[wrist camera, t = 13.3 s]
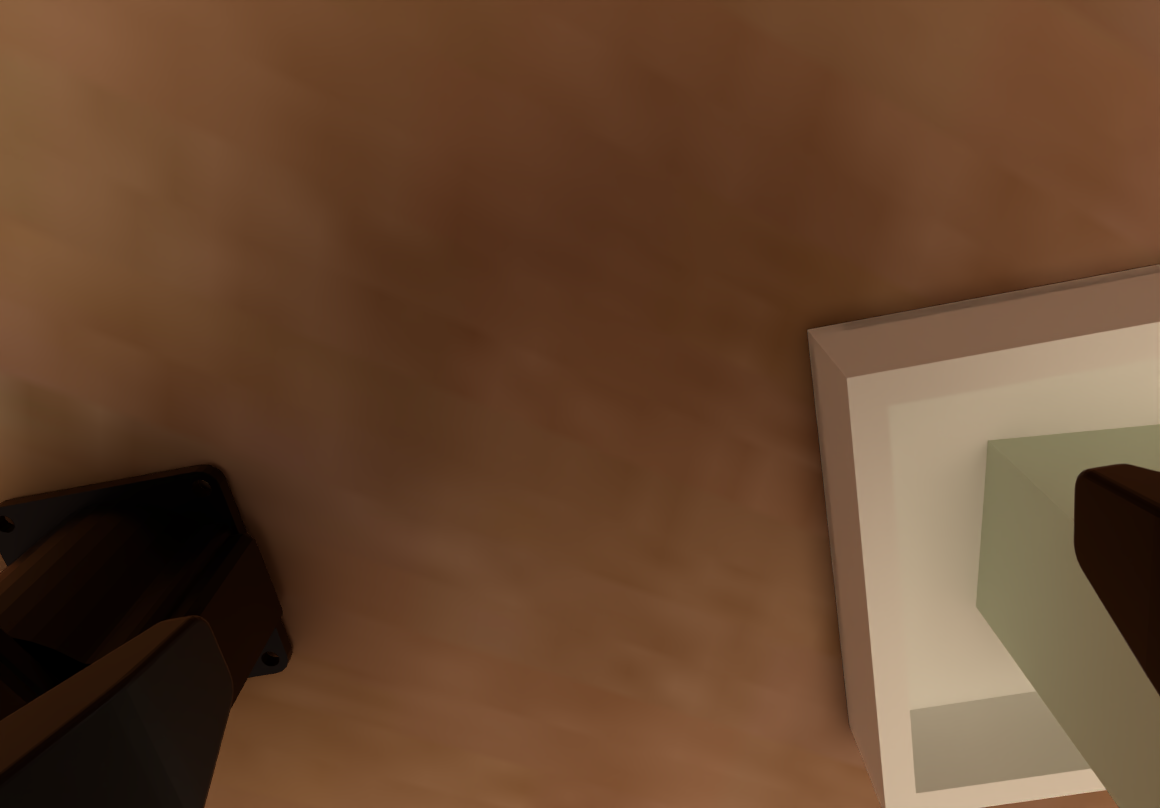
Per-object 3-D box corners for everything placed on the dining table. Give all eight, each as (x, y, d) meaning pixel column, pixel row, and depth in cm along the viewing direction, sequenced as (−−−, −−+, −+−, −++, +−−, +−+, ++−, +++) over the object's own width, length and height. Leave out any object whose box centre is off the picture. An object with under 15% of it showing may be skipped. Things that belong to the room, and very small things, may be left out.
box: (849, 725, 26) (886, 820, 23) (807, 330, 21) (846, 378, 18) (1287, 659, 25) (1392, 749, 22) (1341, 230, 20) (1484, 262, 17)
